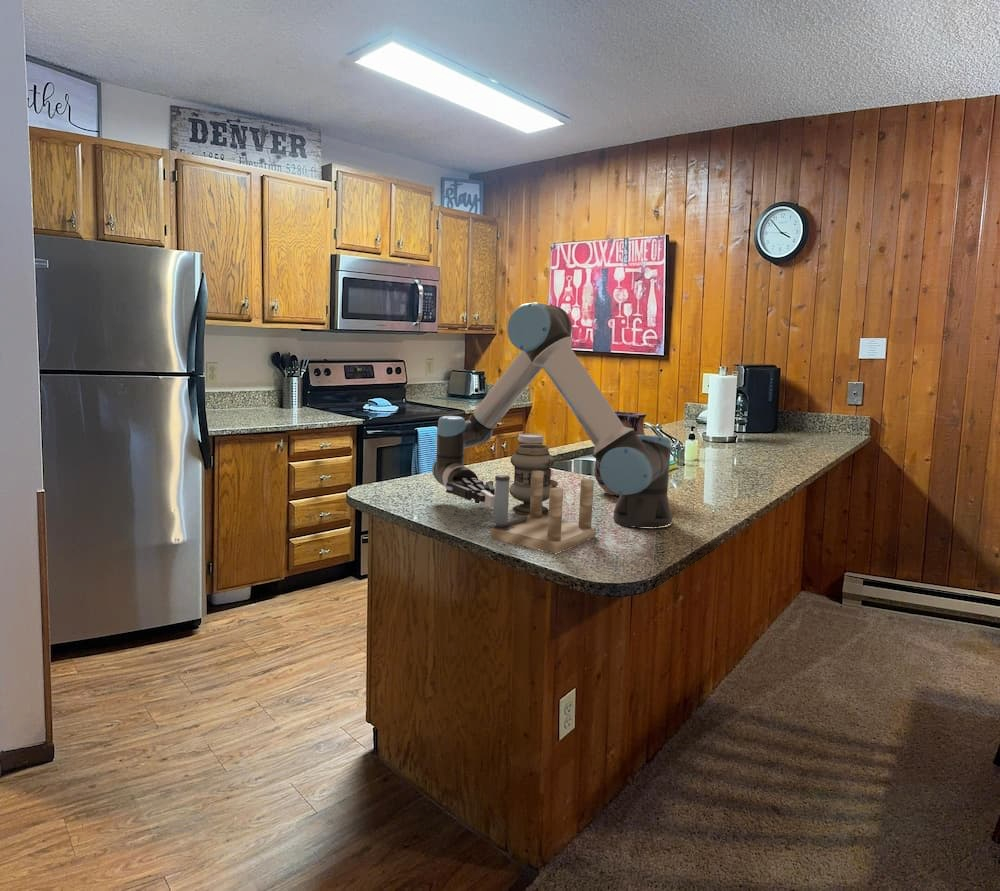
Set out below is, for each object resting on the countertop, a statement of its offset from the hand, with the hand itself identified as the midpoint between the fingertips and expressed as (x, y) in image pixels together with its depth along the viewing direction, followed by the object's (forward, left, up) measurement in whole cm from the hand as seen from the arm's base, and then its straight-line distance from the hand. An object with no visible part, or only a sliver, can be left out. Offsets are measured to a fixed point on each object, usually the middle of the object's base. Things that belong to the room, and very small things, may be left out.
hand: (492, 501), depth 166 cm
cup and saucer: (+2, -59, -9) cm, 60 cm away
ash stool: (-12, -4, -8) cm, 15 cm away
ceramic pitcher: (-23, -62, -9) cm, 67 cm away
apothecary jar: (-3, -28, -9) cm, 30 cm away
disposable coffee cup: (+12, -89, -9) cm, 90 cm away
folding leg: (-4, -4, -6) cm, 8 cm away
